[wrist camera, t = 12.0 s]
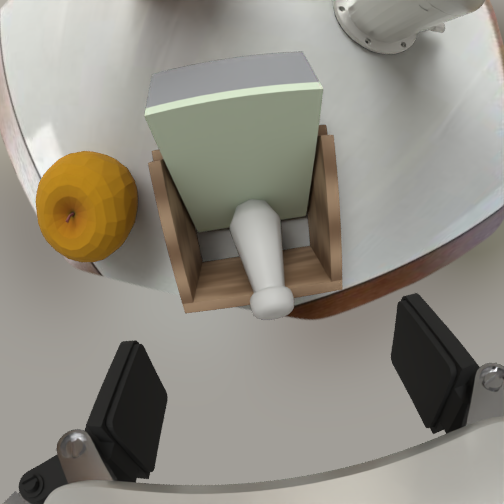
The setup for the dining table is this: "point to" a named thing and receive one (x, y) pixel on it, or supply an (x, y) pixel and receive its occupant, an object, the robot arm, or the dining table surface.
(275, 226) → the salt shaker
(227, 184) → the trapdoor
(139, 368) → the robot arm
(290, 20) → the dining table surface
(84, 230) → the apple
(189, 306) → the box
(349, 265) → the dining table surface
